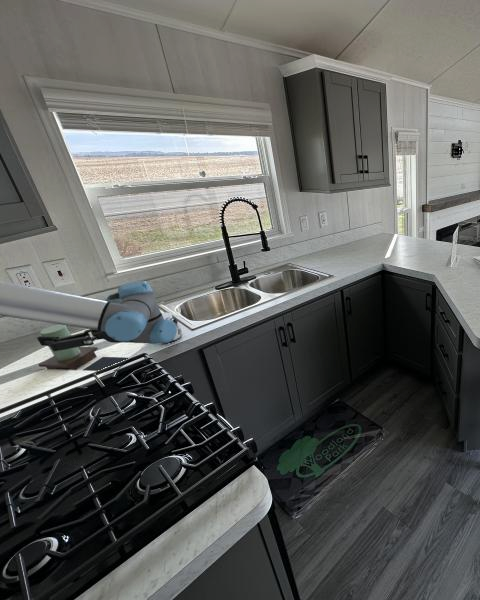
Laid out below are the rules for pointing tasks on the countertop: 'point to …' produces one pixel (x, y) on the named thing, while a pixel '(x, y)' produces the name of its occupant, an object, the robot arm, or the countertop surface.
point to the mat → (104, 363)
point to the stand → (71, 360)
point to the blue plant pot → (113, 298)
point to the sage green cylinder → (60, 332)
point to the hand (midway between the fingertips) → (63, 329)
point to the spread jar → (178, 334)
